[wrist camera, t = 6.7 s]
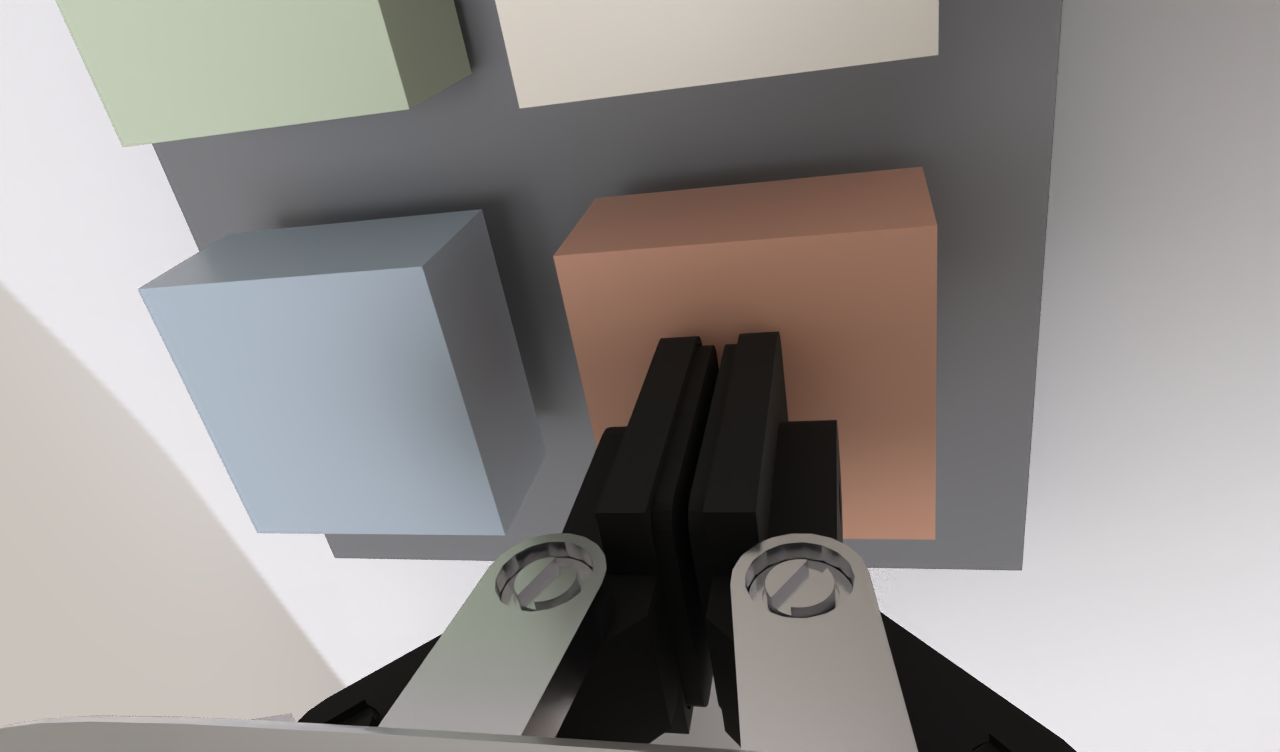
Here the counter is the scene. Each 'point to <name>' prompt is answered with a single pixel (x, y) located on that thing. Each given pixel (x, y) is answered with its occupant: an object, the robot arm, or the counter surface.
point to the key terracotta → (780, 314)
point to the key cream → (698, 42)
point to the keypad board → (697, 158)
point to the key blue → (357, 375)
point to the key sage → (261, 61)
